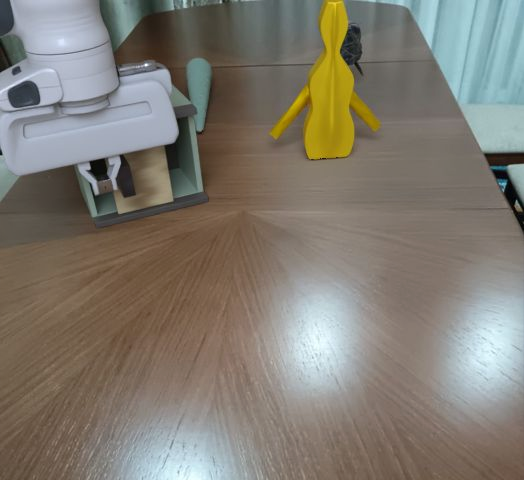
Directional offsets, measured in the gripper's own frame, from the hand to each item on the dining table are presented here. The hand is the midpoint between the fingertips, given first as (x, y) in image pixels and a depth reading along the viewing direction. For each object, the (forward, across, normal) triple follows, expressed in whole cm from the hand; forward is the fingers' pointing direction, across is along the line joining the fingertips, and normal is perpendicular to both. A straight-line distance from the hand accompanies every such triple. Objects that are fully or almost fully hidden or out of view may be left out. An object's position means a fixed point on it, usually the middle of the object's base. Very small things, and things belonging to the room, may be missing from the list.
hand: (105, 191), depth 71 cm
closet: (+6, -6, -10) cm, 13 cm away
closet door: (+5, -5, -2) cm, 8 cm away
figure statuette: (+7, -36, -9) cm, 38 cm away
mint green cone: (+6, -25, -40) cm, 48 cm away
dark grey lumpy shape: (+7, -52, -36) cm, 64 cm away
